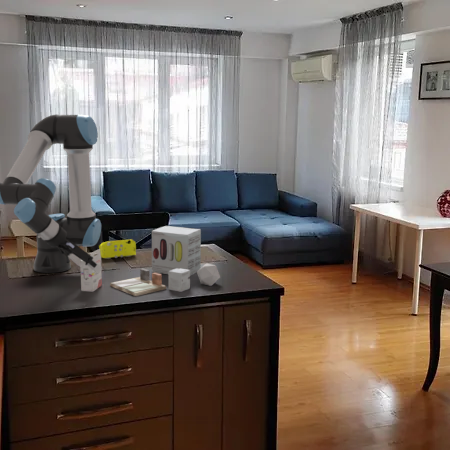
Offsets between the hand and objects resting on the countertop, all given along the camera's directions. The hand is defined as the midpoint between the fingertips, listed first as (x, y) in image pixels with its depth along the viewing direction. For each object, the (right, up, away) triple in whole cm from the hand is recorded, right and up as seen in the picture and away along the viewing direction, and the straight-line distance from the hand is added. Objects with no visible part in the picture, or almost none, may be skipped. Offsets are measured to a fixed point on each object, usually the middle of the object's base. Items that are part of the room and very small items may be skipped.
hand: (90, 267), depth 220 cm
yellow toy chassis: (+1, +1, +52) cm, 52 cm away
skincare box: (+33, -9, +3) cm, 34 cm away
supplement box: (+30, -4, +28) cm, 41 cm away
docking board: (+17, -8, +4) cm, 19 cm away
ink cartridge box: (0, -8, +2) cm, 9 cm away
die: (+44, -7, +10) cm, 46 cm away
